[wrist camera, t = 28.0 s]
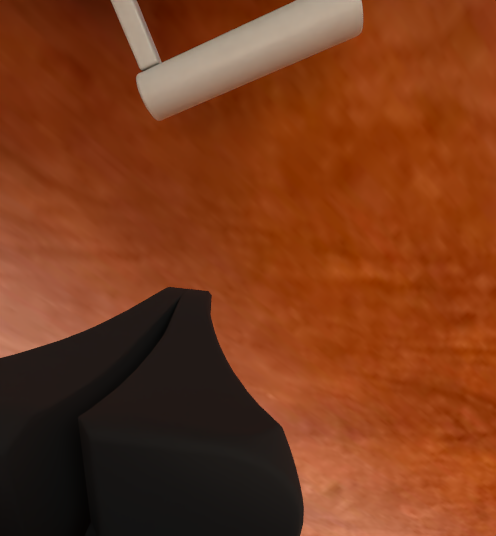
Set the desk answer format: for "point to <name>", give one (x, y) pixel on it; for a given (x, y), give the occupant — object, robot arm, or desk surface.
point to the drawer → (234, 51)
